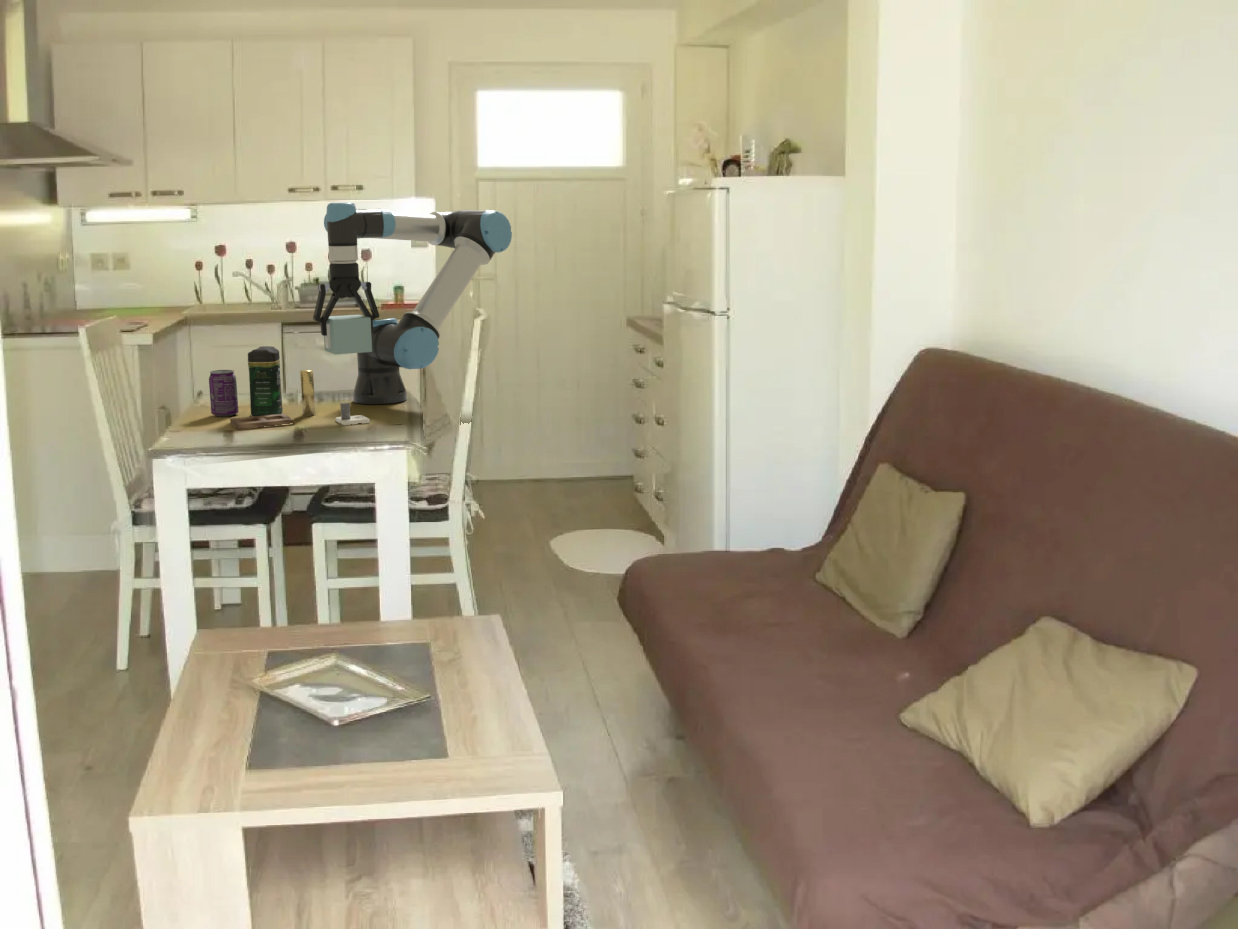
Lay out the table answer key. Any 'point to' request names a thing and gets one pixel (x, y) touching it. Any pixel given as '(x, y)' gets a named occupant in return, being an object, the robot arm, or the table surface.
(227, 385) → the beverage can
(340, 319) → the block
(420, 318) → the robot arm
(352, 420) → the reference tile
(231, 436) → the table surface
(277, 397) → the coffee jar
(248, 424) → the brown grid frame
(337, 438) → the table surface
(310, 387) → the brass peg
